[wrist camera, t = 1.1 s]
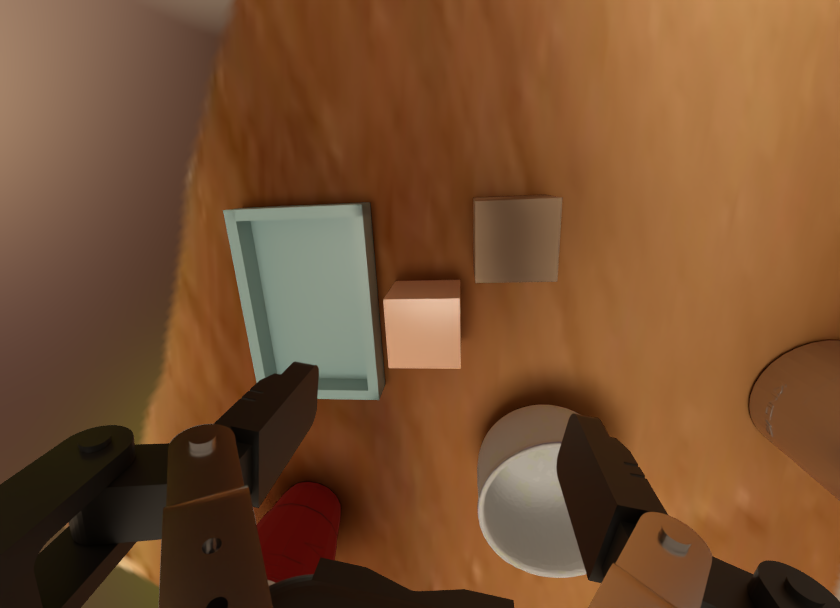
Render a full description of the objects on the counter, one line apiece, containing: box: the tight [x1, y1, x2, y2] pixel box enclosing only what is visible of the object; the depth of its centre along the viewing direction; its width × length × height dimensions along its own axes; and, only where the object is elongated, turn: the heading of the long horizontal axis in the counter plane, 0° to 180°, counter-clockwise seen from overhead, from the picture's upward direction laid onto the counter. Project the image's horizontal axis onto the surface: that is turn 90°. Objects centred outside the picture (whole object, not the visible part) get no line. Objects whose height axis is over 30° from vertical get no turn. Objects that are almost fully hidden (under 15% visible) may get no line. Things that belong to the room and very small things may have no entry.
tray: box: [223, 202, 385, 400], centre depth 30 cm, size 10×15×2 cm, turn 3°
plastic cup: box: [256, 482, 341, 586], centre depth 32 cm, size 11×11×12 cm
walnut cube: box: [473, 195, 562, 283], centre depth 26 cm, size 5×5×5 cm
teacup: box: [477, 405, 586, 578], centre depth 29 cm, size 14×11×8 cm
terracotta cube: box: [383, 280, 461, 369], centre depth 28 cm, size 5×5×5 cm
